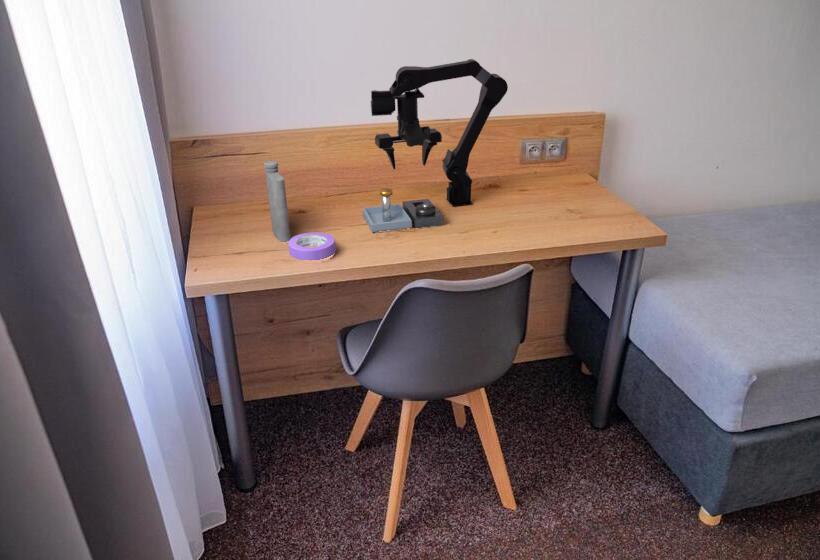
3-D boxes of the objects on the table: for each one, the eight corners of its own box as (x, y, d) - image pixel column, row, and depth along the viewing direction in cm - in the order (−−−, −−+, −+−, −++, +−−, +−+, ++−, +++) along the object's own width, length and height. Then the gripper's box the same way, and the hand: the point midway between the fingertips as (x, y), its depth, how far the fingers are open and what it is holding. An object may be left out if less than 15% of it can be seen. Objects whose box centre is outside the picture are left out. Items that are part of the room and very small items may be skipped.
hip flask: (291, 243, 167) (283, 170, 157) (276, 245, 166) (267, 172, 156) (283, 221, 180) (275, 153, 171) (269, 223, 179) (260, 154, 170)
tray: (400, 211, 186) (399, 203, 185) (411, 228, 175) (411, 220, 173) (362, 215, 183) (362, 207, 182) (372, 233, 172) (371, 224, 171)
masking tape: (292, 245, 166) (290, 232, 164) (336, 244, 166) (335, 230, 165) (287, 265, 156) (286, 251, 154) (334, 263, 156) (333, 249, 154)
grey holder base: (428, 208, 188) (428, 191, 186) (442, 225, 176) (442, 207, 174) (402, 211, 186) (402, 193, 184) (415, 228, 174) (415, 210, 172)
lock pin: (391, 217, 181) (390, 187, 176) (394, 222, 178) (393, 191, 173) (379, 218, 180) (378, 188, 176) (381, 223, 177) (381, 192, 173)
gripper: (383, 123, 169) (385, 179, 176) (448, 117, 173) (448, 171, 181) (373, 114, 178) (375, 167, 185) (435, 108, 183) (435, 160, 190)
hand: (409, 167), depth 185 cm, fingers open, 9 cm apart
